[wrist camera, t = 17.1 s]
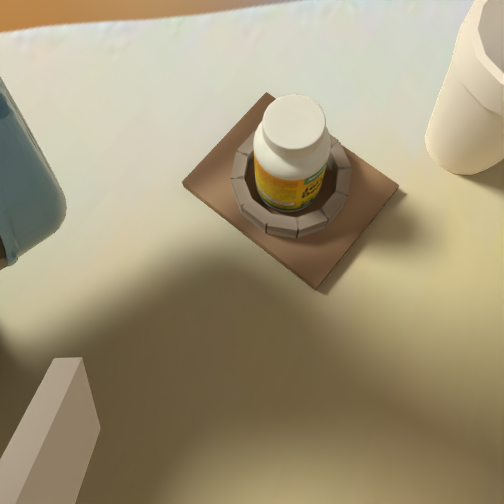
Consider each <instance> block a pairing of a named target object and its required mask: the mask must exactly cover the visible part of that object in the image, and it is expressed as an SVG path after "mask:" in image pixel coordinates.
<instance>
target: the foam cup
mask: <svg viewBox="0 0 504 504" xmlns="http://www.w3.org/2000/svg"><path fill="white" fill-rule="evenodd" d="M425 142H426V146H427V150H428V154H429V155H430V156H431V157H432V158H433V160H434V161H435V162H436V163H437V164H438V166H440V167H442V168H444V169H446V170H448V171H450V172H452V173H454V174H462V175H473V174H476V173H479V172H482V171H485V170H487V169H488V168H490V167H492V166H494V165H495V164H497V163H498V162H500V161H501V160H503V159H504V0H475V1H474V3H473V4H472V6H471V8H470V10H469V12H468V14H467V16H466V17H465V19H464V21H463V23H462V25H461V27H460V29H459V33H458V36H457V40H456V44H455V48H454V52H453V57H452V60H451V63H450V65H449V68H448V71H447V74H446V77H445V79H444V82H443V85H442V88H441V91H440V93H439V96H438V99H437V102H436V104H435V107H434V110H433V113H432V116H431V118H430V121H429V125H428V128H427V132H426V136H425Z"/></svg>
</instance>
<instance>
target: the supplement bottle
mask: <svg viewBox="0 0 504 504" xmlns="http://www.w3.org/2000/svg"><path fill="white" fill-rule="evenodd" d="M253 149H254V163H255V180H256V187H257V191H258V193H259V195H260V197H261V199H262V200H263V201H264V202H265V203H266V204H267V205H268V206H269V207H271V208H273V209H275V210H278V211H281V212H295V211H299V210H302V209H304V208H306V207H308V206H309V205H310V204H312V203H313V201H314V200H315V199H316V197H317V196H318V194H319V191H320V188H321V185H322V181H323V177H324V173H325V169H326V165H327V162H328V158H329V154H330V149H331V140H330V135H329V132H328V129H327V127H326V120H325V115H324V112H323V110H322V108H321V107H320V106H319V104H318V103H316V102H315V101H314V100H312V99H311V98H309V97H306V96H304V95H298V94H290V95H284V96H282V97H279V98H277V99H276V100H274V101H273V102H272V103H271V104H270V105H269V106H268V107H267V109H266V111H265V113H264V116H263V120H262V122H261V123H260V124H259V126H258V128H257V130H256V132H255V135H254V141H253Z"/></svg>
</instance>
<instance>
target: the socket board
mask: <svg viewBox="0 0 504 504" xmlns="http://www.w3.org/2000/svg"><path fill="white" fill-rule="evenodd" d="M274 100H276V99H275V98H274V97H273V96H271V95H270V94H268V93H267V92H266V93H265V94H264V95H263V96H262V97H261V98H260V99H259V100H258V102H257V103H256V104H255V105H254V106H253V107H252V108H251V109H250V110H249V111H248V112H247V113H246V114H245V115H244V116H243V118H242V119H241V120H240V121H239V122H238V123H237V124H236V125H235V126H234V127H233V128H232V129H231V130H230V131H229V132H228V133H227V135H226V136H225V137H224V138H223V139H222V140H221V141H220V142H219V143H218V144H217V145H216V146H215V147H214V148H213V149H212V151H211V152H210V153H209V154H208V155H207V156H206V157H205V158H204V159H203V160H202V161H201V162H200V163H199V164H198V165H197V167H196V168H195V169H194V170H193V171H192V172H191V173H190V174H189V175H188V176H187V177H186V178H185V179H184V180H183V181H182V183H183V186H184V187H185V188H186V189H187V190H189V191H190V192H191V193H192V194H194V195H195V196H196V197H197V198H199V199H200V200H201V201H202V202H204V203H205V204H206V205H208V206H209V207H210V208H211V209H213V210H214V211H215V212H216V213H218V214H219V215H220V216H222V217H223V218H224V219H225V220H227V221H228V222H229V223H230V224H232V225H233V226H234V227H236V228H237V229H238V230H239V231H241V232H242V233H243V234H244V235H246V236H247V237H248V238H250V239H251V240H252V241H253V242H255V243H256V244H257V245H258V246H260V247H261V248H262V249H264V250H265V251H266V252H267V253H269V254H270V255H271V256H272V257H274V258H275V259H276V260H277V261H279V262H280V263H281V264H283V265H284V266H285V267H286V268H288V269H289V270H290V271H291V272H293V273H294V274H295V275H297V276H298V277H299V278H300V279H302V280H303V281H304V282H305V283H307V284H308V285H309V286H311V287H312V288H313V289H314V290H316V289H317V287H318V286H319V285H320V284H321V283H322V281H323V280H324V279H325V278H326V276H327V275H328V274H329V273H330V271H331V270H332V269H333V268H334V266H335V265H336V264H337V263H338V262H339V260H340V259H341V258H342V257H343V255H344V254H345V253H346V252H347V250H348V249H349V248H350V247H351V245H352V244H353V243H354V242H355V241H356V239H357V238H358V237H359V236H360V234H361V233H362V232H363V231H364V229H365V228H366V227H367V226H368V224H369V223H370V222H371V221H372V220H373V218H374V217H375V216H376V215H377V213H378V212H379V211H380V210H381V208H382V207H383V206H384V205H385V203H386V202H387V201H388V200H389V198H390V197H391V196H392V195H393V194H394V192H395V191H396V190H397V188H398V187H399V185H398V184H397V183H395V182H394V181H392V180H391V179H389V178H388V177H387V176H385V175H384V174H382V173H381V172H379V171H378V170H377V169H375V168H374V167H372V166H371V165H369V164H368V163H367V162H365V161H364V160H362V159H361V158H360V157H358V156H357V155H355V154H354V153H352V152H351V151H350V150H348V149H347V148H345V147H344V146H342V145H341V143H340V142H338V141H339V140H337V139H336V138H335V137H333V136H332V135H330V134H329V135H330V140H331V149H330V154H329V158H328V162H327V165H326V169H325V173H324V177H323V181H322V185H321V188H320V191H319V194H318V196H317V197H316V199H315V200H314V201H313V203H312V204H310V205H309V206H308V207H306V208H304V209H302V210H299V211H295V212H281V211H278V210H275V209H273V208H271V207H269V206H268V205H267V204H266V203H265V202H264V201H263V200H262V199H261V197H260V195H259V193H258V191H257V187H256V180H255V163H254V149H253V141H254V135H255V132H256V130H257V128H258V126H259V124H260V123H261V122H262V120H263V116H264V113H265V111H266V109H267V107H268V106H269V105H270V104H271V103H272V102H273V101H274Z"/></svg>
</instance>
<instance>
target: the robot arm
mask: <svg viewBox="0 0 504 504" xmlns="http://www.w3.org/2000/svg"><path fill="white" fill-rule="evenodd" d="M66 209H67V207H66V199H65V196H64V194H63V191H62V189H61V187H60V185H59V183H58V181H57V179H56V177H55V175H54V173H53V171H52V169H51V167H50V165H49V163H48V162H47V160H46V158H45V156H44V154H43V152H42V150H41V149H40V147H39V145H38V143H37V141H36V139H35V138H34V136H33V134H32V132H31V130H30V128H29V127H28V125H27V123H26V121H25V119H24V118H23V116H22V114H21V112H20V110H19V109H18V107H17V105H16V103H15V102H14V100H13V98H12V96H11V95H10V93H9V91H8V89H7V88H6V86H5V84H4V82H3V81H2V79H1V77H0V270H1V269H3V268H5V267H7V266H11V265H13V264H14V263H16V261H17V260H18V257H19V256H21V255H22V254H24V253H25V252H27V251H28V250H30V249H31V248H33V247H34V246H36V245H37V244H39V243H40V242H42V241H43V240H45V239H46V238H48V237H49V236H51V235H52V234H53V233H55V232H56V231H57V230H58V229H59V228H60V225H61V224H62V222H63V221H64V218H65V216H66ZM100 429H101V427H100V423H99V420H98V416H97V412H96V408H95V404H94V401H93V397H92V393H91V389H90V385H89V381H88V378H87V374H86V370H85V366H84V362H83V359H82V357H74V358H54V359H53V361H52V363H51V365H50V367H49V369H48V370H47V372H46V374H45V376H44V378H43V380H42V382H41V384H40V385H39V387H38V389H37V391H36V393H35V395H34V397H33V399H32V401H31V402H30V404H29V406H28V408H27V410H26V412H25V414H24V416H23V417H22V419H21V421H20V423H19V425H18V427H17V429H16V431H15V432H14V434H13V436H12V438H11V440H10V442H9V444H8V446H7V448H6V449H5V451H4V453H3V455H2V457H1V459H0V504H75V503H76V500H77V497H78V494H79V491H80V488H81V485H82V482H83V479H84V476H85V473H86V470H87V468H88V465H89V462H90V459H91V456H92V453H93V450H94V447H95V444H96V441H97V438H98V435H99V432H100Z"/></svg>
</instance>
